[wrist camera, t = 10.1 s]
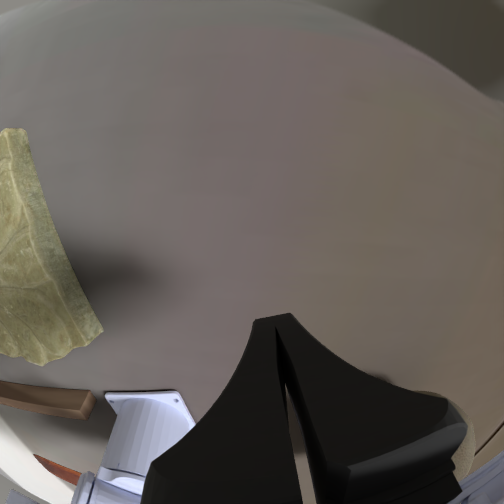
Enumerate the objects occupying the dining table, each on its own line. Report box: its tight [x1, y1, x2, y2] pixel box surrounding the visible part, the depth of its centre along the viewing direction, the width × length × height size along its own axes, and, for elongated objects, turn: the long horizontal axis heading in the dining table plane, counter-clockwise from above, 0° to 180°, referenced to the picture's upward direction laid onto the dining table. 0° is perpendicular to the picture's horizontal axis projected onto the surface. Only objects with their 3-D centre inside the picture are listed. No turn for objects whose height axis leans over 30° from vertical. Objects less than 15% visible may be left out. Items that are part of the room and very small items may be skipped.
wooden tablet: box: [33, 454, 82, 486], centre depth 31 cm, size 27×10×2 cm, turn 80°
